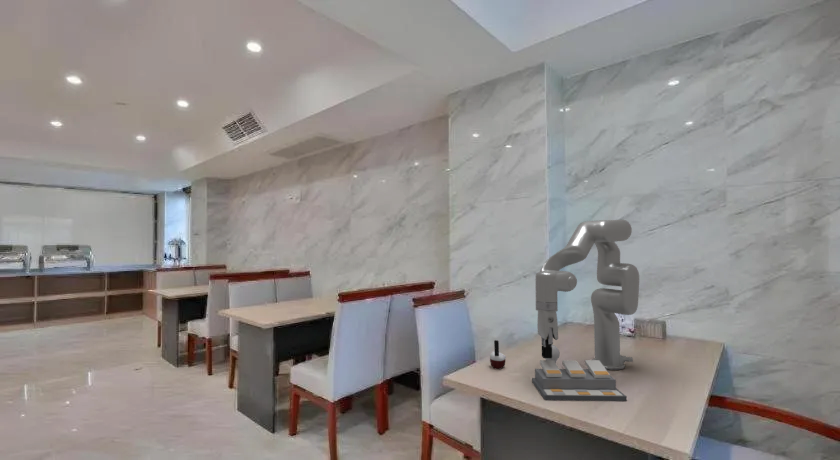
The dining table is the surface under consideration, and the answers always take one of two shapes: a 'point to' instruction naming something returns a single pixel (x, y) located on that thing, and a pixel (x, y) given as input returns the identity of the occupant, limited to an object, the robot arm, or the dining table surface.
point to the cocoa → (497, 357)
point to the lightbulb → (554, 354)
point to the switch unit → (577, 387)
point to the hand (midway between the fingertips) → (546, 357)
